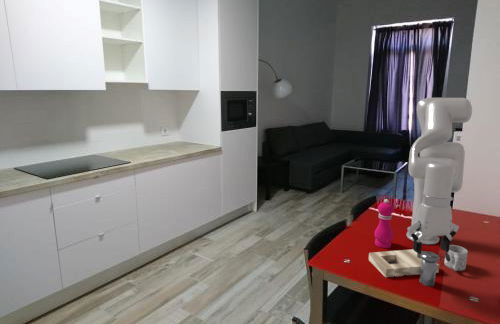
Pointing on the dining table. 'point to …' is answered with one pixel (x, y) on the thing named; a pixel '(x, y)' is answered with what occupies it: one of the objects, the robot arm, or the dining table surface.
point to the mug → (456, 258)
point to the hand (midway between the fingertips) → (430, 251)
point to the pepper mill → (384, 225)
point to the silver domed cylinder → (428, 268)
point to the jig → (398, 262)
